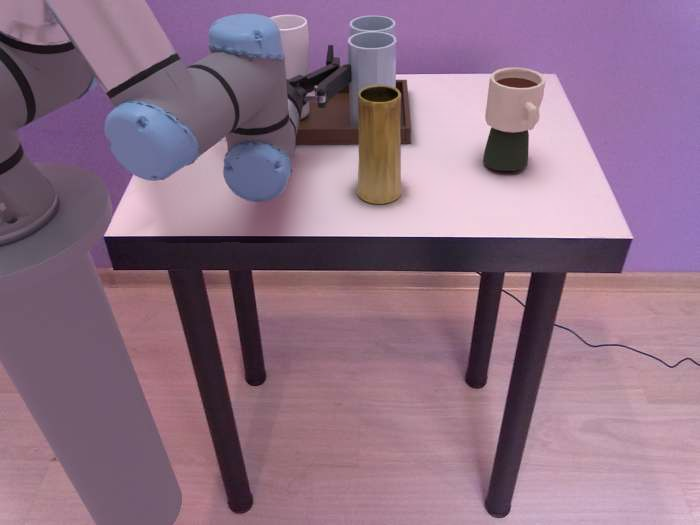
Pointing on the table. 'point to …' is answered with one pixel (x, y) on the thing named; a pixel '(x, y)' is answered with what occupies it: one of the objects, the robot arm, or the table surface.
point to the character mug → (512, 116)
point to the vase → (379, 144)
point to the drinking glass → (295, 48)
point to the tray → (344, 120)
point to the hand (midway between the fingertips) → (288, 54)
